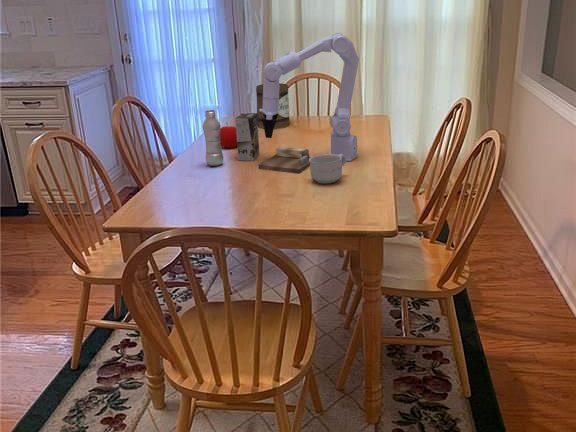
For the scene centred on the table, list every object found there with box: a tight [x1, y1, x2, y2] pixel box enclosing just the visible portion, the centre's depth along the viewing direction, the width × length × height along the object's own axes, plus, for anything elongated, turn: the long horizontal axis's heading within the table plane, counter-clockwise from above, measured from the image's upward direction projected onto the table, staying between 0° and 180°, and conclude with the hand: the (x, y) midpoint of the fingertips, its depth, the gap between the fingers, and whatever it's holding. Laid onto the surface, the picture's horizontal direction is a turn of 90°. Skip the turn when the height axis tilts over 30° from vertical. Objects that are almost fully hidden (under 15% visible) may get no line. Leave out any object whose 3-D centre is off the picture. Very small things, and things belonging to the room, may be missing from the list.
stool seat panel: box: [258, 154, 312, 174], centre depth 205 cm, size 16×15×4 cm
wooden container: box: [255, 82, 290, 130], centre depth 260 cm, size 15×15×22 cm
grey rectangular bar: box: [275, 146, 310, 158], centre depth 209 cm, size 12×3×3 cm, turn 64°
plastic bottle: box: [202, 109, 224, 167], centre depth 206 cm, size 6×7×20 cm
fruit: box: [220, 122, 237, 149], centre depth 230 cm, size 9×9×10 cm
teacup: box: [309, 153, 347, 184], centre depth 188 cm, size 14×11×8 cm
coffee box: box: [235, 112, 261, 162], centre depth 214 cm, size 9×6×16 cm
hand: (269, 135), depth 207 cm, fingers open, 7 cm apart
